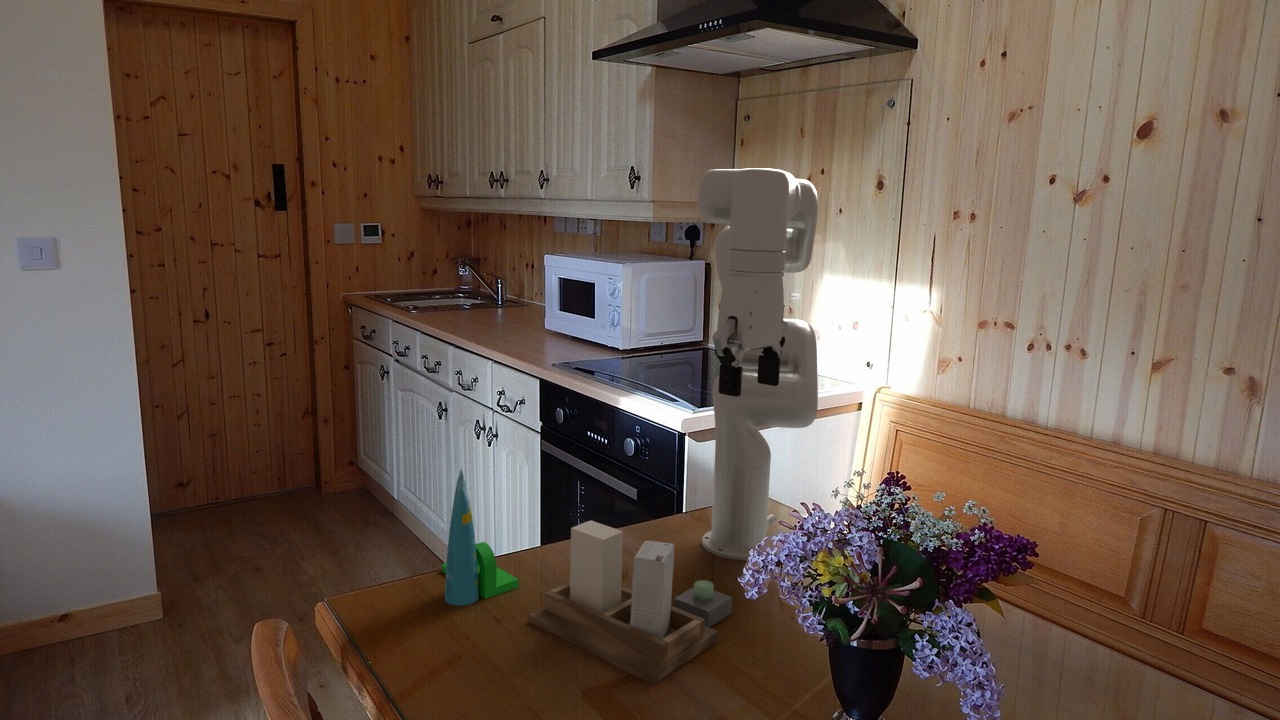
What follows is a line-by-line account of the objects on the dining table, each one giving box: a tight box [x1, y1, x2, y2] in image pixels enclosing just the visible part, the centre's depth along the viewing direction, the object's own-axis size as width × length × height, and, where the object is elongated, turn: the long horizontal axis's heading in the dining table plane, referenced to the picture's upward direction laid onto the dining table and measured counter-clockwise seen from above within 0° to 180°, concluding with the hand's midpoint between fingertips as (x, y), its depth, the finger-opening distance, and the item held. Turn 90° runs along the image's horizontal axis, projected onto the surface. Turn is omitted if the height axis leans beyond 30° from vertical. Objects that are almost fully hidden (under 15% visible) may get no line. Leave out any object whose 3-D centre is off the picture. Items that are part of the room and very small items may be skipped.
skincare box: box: [630, 540, 675, 639], centre depth 109 cm, size 6×4×12 cm
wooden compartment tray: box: [528, 580, 719, 685], centre depth 113 cm, size 14×22×4 cm, turn 51°
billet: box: [569, 519, 624, 613], centre depth 115 cm, size 4×6×12 cm, turn 51°
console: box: [673, 586, 733, 628], centre depth 119 cm, size 6×6×2 cm
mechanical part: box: [441, 541, 520, 599], centre depth 126 cm, size 12×6×8 cm, turn 44°
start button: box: [693, 579, 714, 602], centre depth 119 cm, size 3×3×2 cm
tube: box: [444, 467, 480, 607], centre depth 119 cm, size 7×5×19 cm, turn 19°
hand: (749, 389), depth 113 cm, fingers open, 9 cm apart
